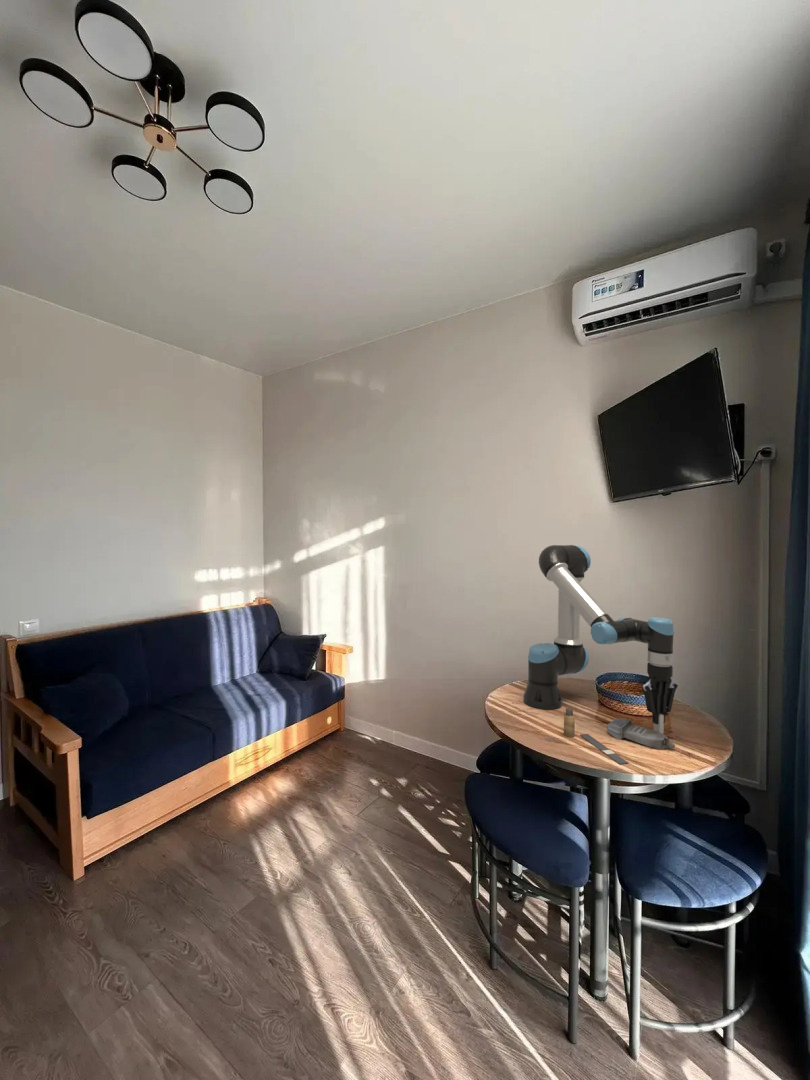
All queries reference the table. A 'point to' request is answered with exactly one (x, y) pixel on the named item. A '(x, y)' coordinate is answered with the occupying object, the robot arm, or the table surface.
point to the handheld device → (638, 734)
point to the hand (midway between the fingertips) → (658, 732)
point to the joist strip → (604, 749)
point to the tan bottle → (569, 723)
